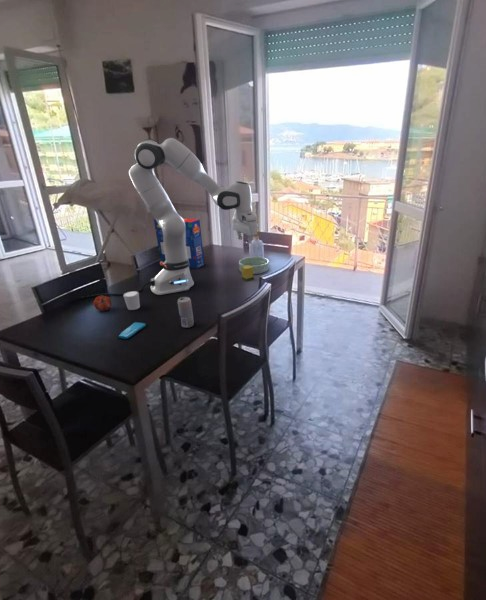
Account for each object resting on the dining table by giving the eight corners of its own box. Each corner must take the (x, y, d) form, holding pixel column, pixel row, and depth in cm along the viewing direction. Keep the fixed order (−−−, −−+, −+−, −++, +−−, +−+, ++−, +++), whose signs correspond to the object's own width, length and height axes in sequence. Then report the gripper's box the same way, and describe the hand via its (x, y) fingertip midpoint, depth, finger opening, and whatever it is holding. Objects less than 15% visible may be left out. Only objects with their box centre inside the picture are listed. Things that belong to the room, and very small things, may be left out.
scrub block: (246, 281, 193) (245, 269, 190) (242, 278, 197) (241, 266, 194) (253, 279, 195) (252, 267, 192) (249, 276, 199) (248, 265, 196)
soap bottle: (263, 260, 223) (262, 221, 213) (249, 261, 224) (247, 222, 213) (264, 256, 232) (262, 218, 221) (250, 256, 232) (248, 219, 222)
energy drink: (188, 320, 153) (185, 295, 148) (196, 324, 150) (193, 298, 145) (178, 325, 149) (174, 299, 144) (186, 329, 146) (182, 303, 141)
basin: (248, 277, 199) (248, 268, 196) (233, 268, 212) (233, 260, 210) (274, 270, 207) (274, 262, 205) (258, 262, 221) (258, 254, 219)
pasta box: (204, 264, 220) (199, 219, 208) (196, 268, 214) (191, 222, 202) (169, 259, 232) (162, 216, 220) (161, 263, 225) (153, 219, 213)
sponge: (114, 335, 141) (125, 336, 139) (134, 321, 152) (145, 322, 149) (115, 338, 142) (126, 339, 140) (135, 324, 152) (146, 325, 150)
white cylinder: (125, 311, 163) (122, 297, 160) (126, 305, 169) (123, 292, 166) (141, 309, 165) (138, 295, 162) (141, 303, 171) (139, 290, 168)
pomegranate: (95, 314, 167) (92, 309, 157) (94, 299, 168) (91, 293, 159) (112, 312, 169) (110, 308, 160) (112, 298, 171) (109, 292, 162)
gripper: (228, 212, 187) (230, 238, 193) (248, 218, 172) (249, 246, 178) (239, 211, 190) (240, 236, 196) (259, 217, 175) (260, 244, 181)
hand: (244, 241), depth 187 cm, fingers open, 8 cm apart
